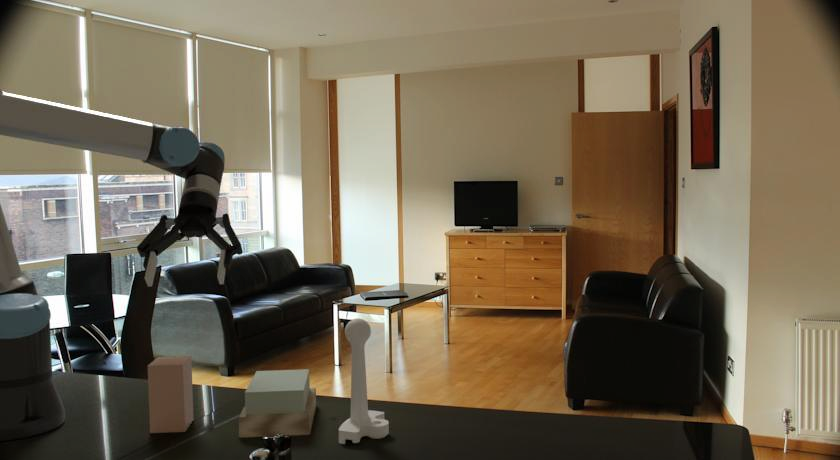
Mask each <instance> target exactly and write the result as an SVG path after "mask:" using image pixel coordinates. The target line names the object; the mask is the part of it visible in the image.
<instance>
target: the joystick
mask: <svg viewBox="0 0 840 460" xmlns="http://www.w3.org/2000/svg"><path fill="white" fill-rule="evenodd" d="M371 332H372V329H371V325H370V323H369V322H367V321H366V320H365V319H363V318H353V319H351V320H349V321H348V322H347V323H346V325H345V328H344V335H345V338H346V340H347V341H348V342H349V343H350V346H351V371H350V372H351V376H350V379H351V380H350V417H349V418H348V419H346V420H345V421H344V422H343V423H341V424H340V426H339V428H338V444H340V445H346V443H347V440H350V441H352V443H353V444H357V443H358V444H359V443H360V442H361V439H362V438H363V437H368V438H369V439H374V440H375V439H384V438H385V437H387V436H388V435H389V433H390V430H389V429H390V427H389V426H390V422H389V420H387V419H385V411H378V410H370V409H369V404H368V403H369V402H368V389H367V388H368V387H367V371H366V369H367V368H366V355H365V354H366V353H365V351H366V350H365V346H366V342H367V341H368V340H369V339H370V336H371V334H372V333H371Z"/></svg>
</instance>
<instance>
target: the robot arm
mask: <svg viewBox="0 0 840 460" xmlns="http://www.w3.org/2000/svg"><path fill="white" fill-rule="evenodd" d="M0 136H4V137H10V138H14V139H22V140H27V141H30V142H31V141H32V142H38V143H44V144H48V145H54V146H55V145H56V146H60V147H66V148H72V149H77V150H82V151H89V152H93V153H94V152H95V153H99V154H106V155H110V156H111V155H112V156H118V157H123V158H127V159H134V160H139V161H141V162H142V163H144V164H148V165H150V166H154V167H155V168H159V169H160V170H162V171H165V172H168V173H170V174H173V175H174V176H176V177H180V178H182V179H184V184H183V189H182V192H181V198H180V202H179V207H178V212H177V216H175V217H174V218H173V217H168V215H166V214H162V215H161V216H160V219H159V221H158V223H156V225H155V227H154V228H153V229H151V231H150V232H149V233H148V234H147V235H146V237H144V239H143V240H142V241H141V242H140V243H139V244H138V245H137V247H136V249H137V252H138V255H139V257H141V258H144V259H143V263H142V266H143V268H144V271H145V275H144V280H145V283H146V285H147V287H148V288H149V287H153V283H154V279H155V276H156V270H157V267H158V263H159V260H158V256H160V254H162V253H164V251H166V250H167V249H168V248H170V247H172V246H173V245H174V244H175V243H176V242H178V241H179V242H180V241H181V240H183V239H184V238H185V237H186V239H188V238H189V239H191V238H203V237H204V236H205V237H206V238H208V240H210V241H212V242H213V243H214V244H215V245H216V246H217V247H218V248H219V249H220V253H219V254H220V255H219V260H218V261H219V262H218V268H217V276H216V277H217V281H218V283H219V285H224V284H225V283H224V282H225V278H226V270H227V269H231V268H232V264H233V257H234V256H235V255H238V256H239V255H242V254H243V253H244V252H243V248H242V243H241V242H240V239H239V238H238V236H237V234H236V233H235V230H234V229H233V227H232V225H231V219H230V216H229V213H223V214H222V216H218V217H216V216H217V212H218V211H217V210H218V203H219V198H220V192H221V185H222V180H223V174H224V171H225V162H226V159H225V157H226V156H225V153H224V151H223V149H222V148H221V146H219V145H218V144H216V143H214V142H211V141H210V142H208V141H207V142H206V141H199V139H198V136H197V135H196V134H195V133H194V131H192V130H191V129H188V128H186V127H183V126H178V125H177V126H176V125H175V126H168V125H163V124H157V123H153V122H149V121H144V120H139V119H133V118H128V117H124V116H121V115H120V116H119V115H114V114H110V113H107V112H105V113H104V112H100V111H96V110H91V109H86V108H82V107H76V106H72V105H68V104H67V105H66V104H62V103H58V102H52V101H47V100H44V99H39V98H33V97H28V96H25V95H19V94H15V93H9V92H6V91H4V90H2V88H1V89H0ZM217 225H219V227H220V228H222V229H224V232H225V234H226V236H227V238H228V239H229V242H230V243H228V242H227V240H226V239H224V237H223V236H221V234H219V233H218V232H217V231H216V230H215V229H214V228H215V227H216V226H217ZM51 317H52V315H51V310H50V305H49V302H48V300H47V299H46V297H43V296H41V295H38V292H37V289H36V286H35V282H34V279H33V278H32V277H29V276H27V275H25V274H24V273H23V272H22V270H21V267H20V264H19V261H18V257H17V253H16V250H15V247H14V244H13V240H12V237H11V234H10V231H9V227H8V225H7V221H6V218H5V215H4V211H3V208H2V205H1V203H0V442H1V441H2V442H4V441H10V440H11V441H12V440H18V439H24V438H28V437H33V436H38V435H40V434H41V435H42V434H43V433H48V432H49V431H51V430H54V429H57V428H58V427H60V426H62V425H63V424H64V422H65V421H66V413H65V411H66V410H65V406H64V404H63V400H62V398H61V396H60V394H59V392H58V389H57V388H56V387H57V386H56V385H55V382H54V379H53V365H52V364H53V363H52V359H53V358H52V343H51V342H52V341H51V340H52V339H51V321H50V320H51Z"/></svg>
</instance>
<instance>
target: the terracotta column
mask: <svg viewBox="0 0 840 460" xmlns="http://www.w3.org/2000/svg"><path fill="white" fill-rule="evenodd" d="M192 363H193V361H192V355H189V356H188V355H185V356H160V357H159V356H158V357H156V358H155V359H154V360H153V361H151V362H150V363H149V364H148V365H147V381H148V382H147V383H148V385H147V386H148V387H147V388H148V409H149V410H148V411H149V433H150V434H161V433H163V434H164V433H165V434H166V433H184V432H187V430H188V429H189V427H190V426H191V425H190V424H192V423H193V422H194V421H195V420H194V396H193V390H194V389H193V368H192ZM192 421H193V422H192Z"/></svg>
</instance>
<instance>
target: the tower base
mask: <svg viewBox="0 0 840 460" xmlns="http://www.w3.org/2000/svg"><path fill="white" fill-rule="evenodd" d="M316 408H317V388H316V387H314V388H313V387H310V390H309V394H308V399H307V403H306V407H305V411H304V413H286V414H261V415H246V414H245V406H244V407H243V408H242V410H241V412H240V415H238V437H240V438H258V437H259V438H260V437H262V438H263V437H264V436H265V437H273V436H272V435H276V434H285V435H289V436H307V435H308V436H309V435H311V433H312V432H311V431H312V426H313V423H314V418H315V417H314V416H315V413H316Z"/></svg>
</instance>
